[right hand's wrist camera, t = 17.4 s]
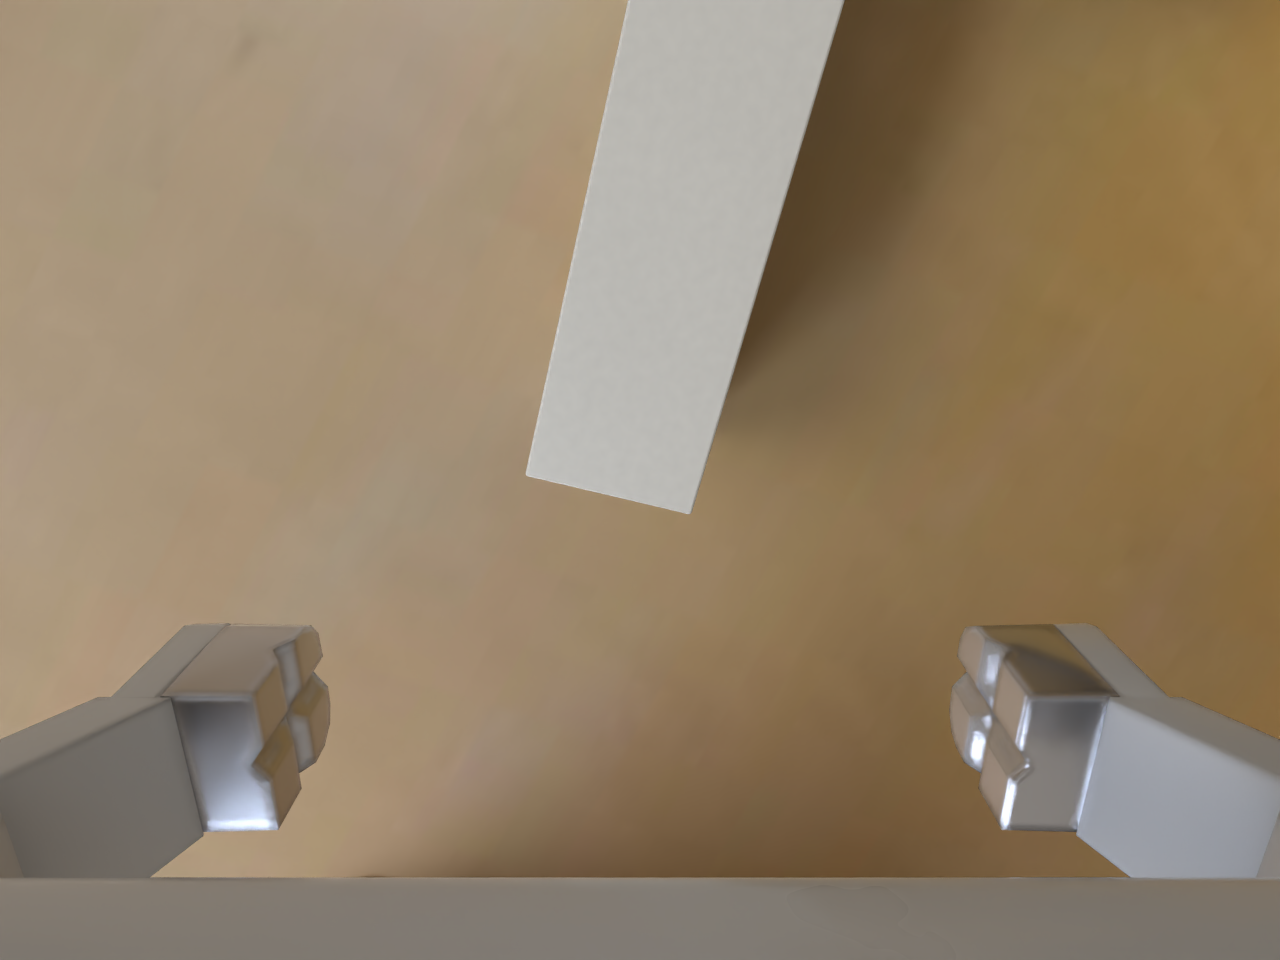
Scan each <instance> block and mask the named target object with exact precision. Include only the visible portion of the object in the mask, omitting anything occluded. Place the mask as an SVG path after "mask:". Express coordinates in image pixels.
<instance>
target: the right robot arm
mask: <svg viewBox="0 0 1280 960" xmlns="http://www.w3.org/2000/svg"><path fill="white" fill-rule="evenodd" d="M322 657H323V654H322V649H321V644H320V639H319V634H318V632H317V631H316V630H315V629H314V628H313V627H312V626H311V625H266V624H229V623H213V624H191V625H185V626H184V627H182V628H181V629H180V630H179V631H178V632H177V633H176V634H175V635H174V636H173V637H172V638H171V639H170V640H169V641H168V642H167V643H166V644H165V645H164V646H163V647H162V648H161V649H160V650H159V651H158V652H157V653H156V654H155V655H154V656H153V657H152V658H151V659H150V660H149V661H148V662H147V663H146V664H145V665H144V666H143V667H141V668H140V669H139V670H138V671H137V672H136V673H135V674H134V675H133V676H132V677H131V678H130V679H129V680H128V681H127V682H126V683H125V684H124V685H123V686H122V687H121V688H120V689H119V690H118V691H117V692H116V693H115V694H114V695H113V696H112V697H97V698H95V699H93V700H90V701H88V702H86V703H83V704H81V705H79V706H76V707H74V708H72V709H70V710H67V711H65V712H63V713H60V714H58V715H56V716H53V717H51V718H49V719H47V720H44V721H42V722H40V723H37V724H35V725H33V726H30V727H28V728H26V729H23V730H21V731H19V732H17V733H14V734H12V735H10V736H7V737H5V738H3V739H0V960H1280V740H1279V739H1277V738H1275V737H1272V736H1270V735H1268V734H1266V733H1263V732H1261V731H1259V730H1256V729H1254V728H1252V727H1249V726H1247V725H1245V724H1243V723H1240V722H1238V721H1236V720H1233V719H1231V718H1229V717H1226V716H1224V715H1222V714H1220V713H1217V712H1215V711H1213V710H1210V709H1208V708H1206V707H1203V706H1201V705H1199V704H1197V703H1194V702H1192V701H1190V700H1187V699H1185V698H1183V697H1168V696H1167V695H1166V694H1165V693H1164V692H1163V691H1162V690H1161V689H1160V688H1159V687H1158V686H1157V685H1156V684H1155V683H1154V682H1153V681H1152V680H1151V679H1150V678H1149V677H1148V676H1147V675H1146V674H1145V673H1144V672H1143V671H1142V670H1141V669H1140V668H1139V667H1138V666H1137V665H1136V664H1135V663H1134V662H1133V661H1131V660H1130V659H1129V658H1128V657H1127V656H1126V655H1125V654H1124V653H1123V652H1122V651H1121V650H1120V649H1119V648H1118V647H1117V646H1116V645H1115V644H1114V643H1113V642H1112V641H1111V640H1110V639H1109V638H1108V637H1107V636H1106V635H1105V634H1104V633H1103V632H1102V631H1101V630H1100V629H1099V628H1098V627H1096V626H1094V625H1091V624H1088V623H1072V624H1039V625H999V626H971V627H965V629H964V631H963V634H962V636H961V638H960V642H959V648H958V654H957V657H958V658H959V660H960V662H961V663H962V665H963V666H964V668H965V669H966V671H967V672H966V673H965V674H964V675H963V676H962V677H961V678H960V679H959V680H958V681H957V682H956V683H955V684H954V685H953V686H952V692H951V700H950V708H949V711H950V722H951V732H952V735H953V738H954V742H955V745H956V748H957V750H958V752H959V754H960V756H961V757H962V759H963V761H964V763H966V764H968V765H969V766H971V767H972V768H974V769H975V770H977V771H978V772H980V773H981V776H980V782H979V788H978V789H979V790H980V792H981V794H982V796H983V797H984V799H985V801H986V803H987V805H988V806H989V808H990V810H991V812H992V813H993V815H994V817H995V819H996V821H997V822H998V824H999V826H1000V828H1001V829H1002V830H1027V831H1064V832H1077V833H1076V835H1077V836H1078V837H1079V838H1080V839H1082V840H1083V841H1084V842H1086V843H1087V844H1088V845H1089V846H1091V847H1092V848H1093V849H1095V850H1096V851H1097V852H1099V853H1100V854H1101V855H1102V856H1104V857H1105V858H1106V859H1108V860H1109V861H1110V862H1111V863H1113V864H1114V865H1115V866H1117V867H1118V868H1119V869H1120V870H1122V871H1123V872H1124V873H1126V874H1127V875H1128V876H1129V877H1009V878H150V877H151V876H152V875H153V874H155V873H156V872H157V871H159V870H160V869H161V868H162V867H164V866H165V865H166V864H168V863H169V862H170V861H171V860H173V859H174V858H175V857H177V856H178V855H179V854H181V853H182V852H183V851H184V850H186V849H187V848H188V847H190V846H191V845H192V844H193V843H195V842H196V841H197V840H199V839H200V838H201V837H202V836H203V835H204V834H203V832H216V831H251V830H279V828H280V826H281V824H282V822H283V821H284V819H285V817H286V815H287V814H288V812H289V810H290V808H291V806H292V805H293V803H294V801H295V799H296V797H297V796H298V794H299V792H300V790H301V782H300V776H299V773H300V772H302V771H303V770H305V769H306V768H308V767H309V766H311V765H312V764H314V763H316V761H317V759H318V757H319V755H320V753H321V752H322V750H323V748H324V746H325V742H326V738H327V733H328V729H329V725H330V698H329V691H328V686H327V685H326V684H325V683H324V682H323V681H322V680H321V679H320V678H319V677H318V676H317V675H316V674H315V673H314V672H313V671H314V669H315V668H316V666H317V665H318V663H319V662H320V660H321V658H322Z"/></svg>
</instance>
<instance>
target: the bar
mask: <svg viewBox="0 0 1280 960" xmlns="http://www.w3.org/2000/svg"><path fill="white" fill-rule="evenodd" d="M844 1H845V0H628V3H627V8H626V12H625V17H624V22H623V26H622V31H621V35H620V40H619V45H618V49H617V54H616V58H615V63H614V68H613V72H612V77H611V82H610V86H609V91H608V95H607V100H606V105H605V109H604V114H603V118H602V123H601V128H600V132H599V137H598V142H597V146H596V151H595V155H594V160H593V165H592V169H591V174H590V178H589V183H588V188H587V192H586V197H585V202H584V206H583V211H582V215H581V220H580V225H579V229H578V234H577V239H576V243H575V248H574V252H573V257H572V262H571V266H570V271H569V275H568V280H567V285H566V289H565V294H564V299H563V303H562V308H561V312H560V317H559V322H558V326H557V331H556V335H555V340H554V345H553V349H552V354H551V359H550V363H549V368H548V372H547V377H546V382H545V386H544V391H543V395H542V400H541V405H540V409H539V414H538V419H537V423H536V428H535V432H534V437H533V442H532V446H531V451H530V455H529V460H528V465H527V469H526V475H527V476H529V477H533V478H537V479H542V480H546V481H550V482H554V483H559V484H563V485H567V486H571V487H576V488H580V489H584V490H588V491H593V492H597V493H601V494H605V495H610V496H614V497H618V498H622V499H627V500H631V501H635V502H639V503H644V504H648V505H652V506H656V507H661V508H665V509H669V510H673V511H678V512H682V513H686V514H691V513H692V510H693V507H694V503H695V500H696V497H697V493H698V490H699V487H700V483H701V480H702V477H703V473H704V470H705V467H706V463H707V460H708V457H709V453H710V450H711V447H712V443H713V440H714V436H715V433H716V430H717V426H718V423H719V420H720V416H721V413H722V410H723V406H724V403H725V400H726V396H727V393H728V390H729V386H730V383H731V380H732V376H733V373H734V370H735V366H736V363H737V360H738V356H739V353H740V349H741V346H742V343H743V339H744V336H745V333H746V329H747V326H748V323H749V319H750V316H751V313H752V309H753V306H754V303H755V299H756V296H757V293H758V289H759V286H760V283H761V279H762V276H763V272H764V269H765V266H766V262H767V259H768V256H769V252H770V249H771V246H772V242H773V239H774V236H775V232H776V229H777V226H778V222H779V219H780V216H781V212H782V209H783V206H784V202H785V199H786V196H787V192H788V189H789V185H790V182H791V179H792V175H793V172H794V169H795V165H796V162H797V159H798V155H799V152H800V149H801V145H802V142H803V139H804V135H805V132H806V129H807V125H808V122H809V119H810V115H811V112H812V108H813V105H814V102H815V98H816V95H817V92H818V88H819V85H820V82H821V78H822V75H823V72H824V68H825V65H826V62H827V58H828V55H829V52H830V48H831V45H832V42H833V38H834V35H835V32H836V28H837V25H838V21H839V18H840V15H841V11H842V8H843V5H844Z"/></svg>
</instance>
